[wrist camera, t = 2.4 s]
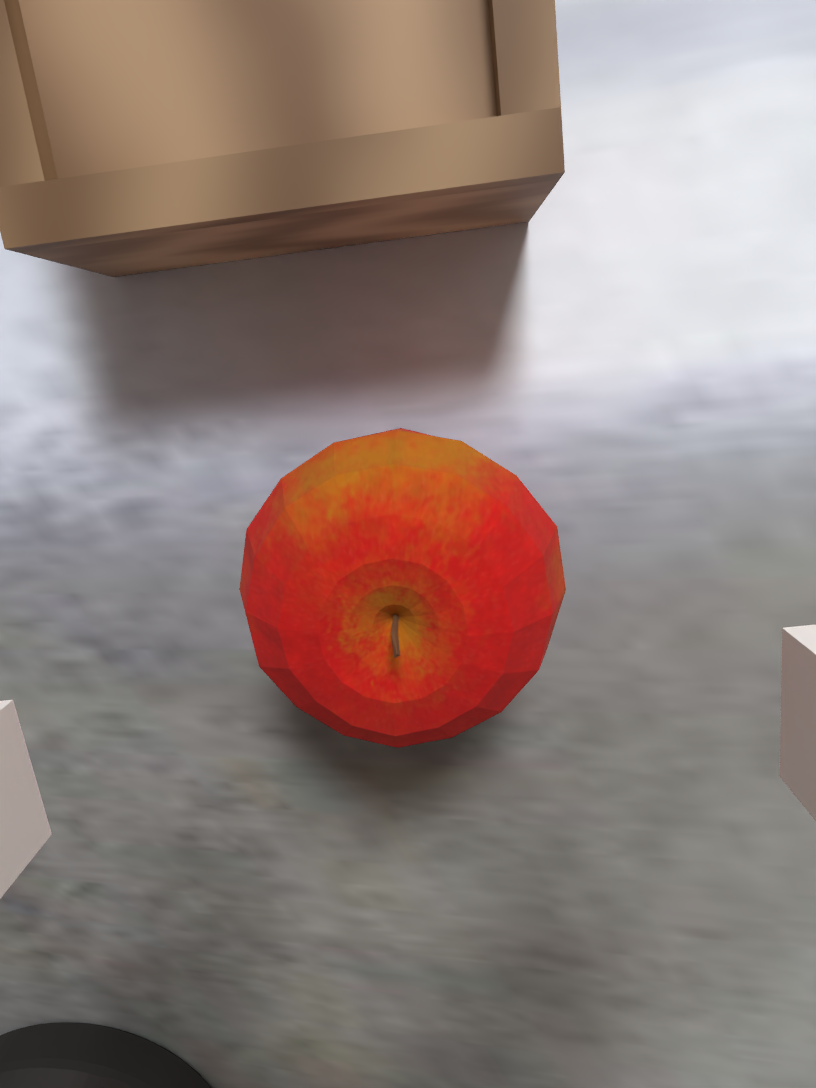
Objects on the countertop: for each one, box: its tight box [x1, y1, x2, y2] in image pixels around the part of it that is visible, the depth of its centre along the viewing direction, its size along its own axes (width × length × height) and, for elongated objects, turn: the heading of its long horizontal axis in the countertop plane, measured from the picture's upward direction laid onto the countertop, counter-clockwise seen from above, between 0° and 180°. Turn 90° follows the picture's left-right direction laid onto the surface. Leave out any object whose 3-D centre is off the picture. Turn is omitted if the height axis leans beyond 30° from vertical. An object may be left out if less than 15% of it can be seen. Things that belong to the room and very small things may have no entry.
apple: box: [240, 428, 566, 748], centre depth 22 cm, size 9×9×12 cm
